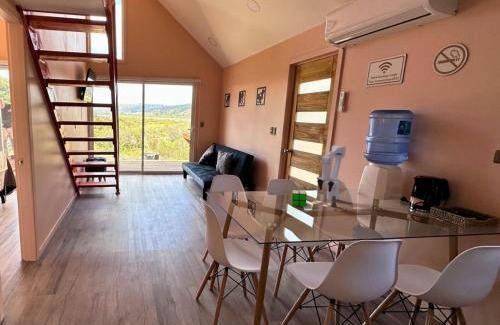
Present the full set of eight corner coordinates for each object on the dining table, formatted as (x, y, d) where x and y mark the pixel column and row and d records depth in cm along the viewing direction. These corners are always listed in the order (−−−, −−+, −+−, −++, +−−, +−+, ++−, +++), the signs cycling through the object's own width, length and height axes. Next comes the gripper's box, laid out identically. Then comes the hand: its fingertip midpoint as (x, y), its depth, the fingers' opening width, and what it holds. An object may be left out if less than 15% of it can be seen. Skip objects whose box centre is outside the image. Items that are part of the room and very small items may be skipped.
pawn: (332, 205, 216) (333, 194, 215) (338, 206, 213) (338, 195, 212) (329, 206, 213) (329, 195, 212) (334, 207, 210) (335, 197, 209)
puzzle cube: (304, 203, 223) (305, 190, 221) (306, 207, 213) (306, 193, 212) (291, 203, 224) (291, 190, 222) (291, 206, 214) (292, 193, 213)
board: (317, 201, 229) (317, 200, 229) (346, 208, 211) (347, 207, 211) (309, 203, 222) (309, 202, 222) (339, 211, 204) (339, 210, 204)
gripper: (314, 171, 221) (313, 189, 223) (331, 174, 210) (330, 193, 212) (320, 170, 226) (319, 188, 227) (337, 173, 215) (336, 191, 217)
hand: (325, 190), depth 220 cm, fingers open, 7 cm apart
